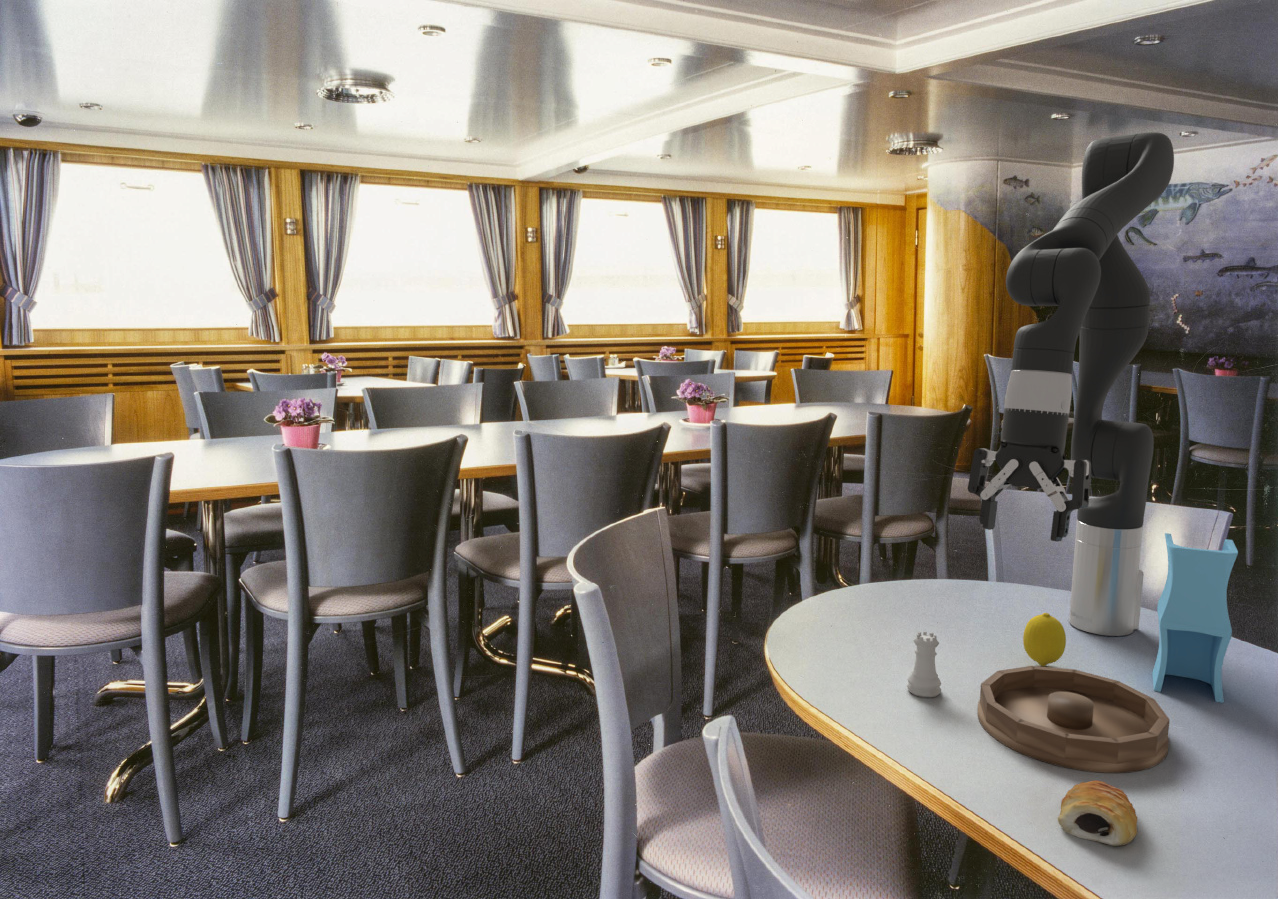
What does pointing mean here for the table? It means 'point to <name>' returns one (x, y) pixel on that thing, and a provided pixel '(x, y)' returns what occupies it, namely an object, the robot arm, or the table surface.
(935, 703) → the table surface
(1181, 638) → the blue wavy stand
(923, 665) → the rook chess piece
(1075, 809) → the pastry
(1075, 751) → the ring tray
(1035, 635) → the lemon
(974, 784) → the table surface
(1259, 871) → the table surface
